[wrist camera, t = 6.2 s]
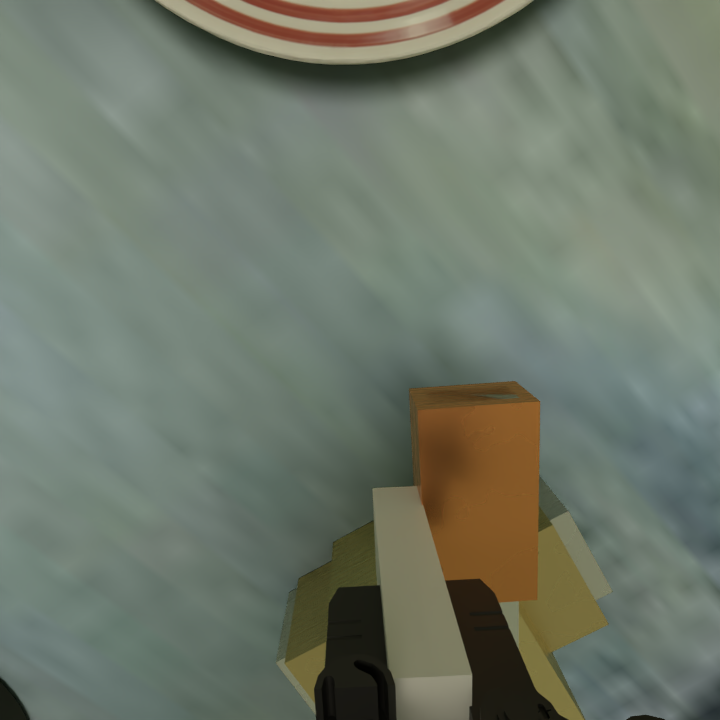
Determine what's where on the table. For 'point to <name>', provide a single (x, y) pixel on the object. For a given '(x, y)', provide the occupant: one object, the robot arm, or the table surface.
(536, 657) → the valve pipe
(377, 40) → the dinner plate
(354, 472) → the table surface
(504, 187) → the table surface
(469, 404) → the valve lever
